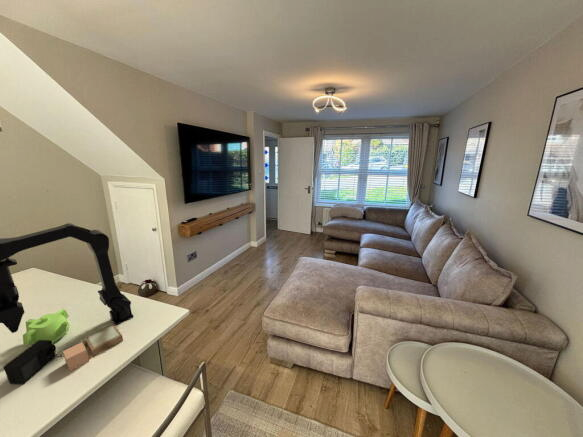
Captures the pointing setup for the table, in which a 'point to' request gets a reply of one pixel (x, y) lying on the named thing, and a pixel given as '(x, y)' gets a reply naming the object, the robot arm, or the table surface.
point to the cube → (76, 356)
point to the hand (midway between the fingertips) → (13, 325)
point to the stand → (103, 339)
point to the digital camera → (30, 362)
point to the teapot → (46, 328)
